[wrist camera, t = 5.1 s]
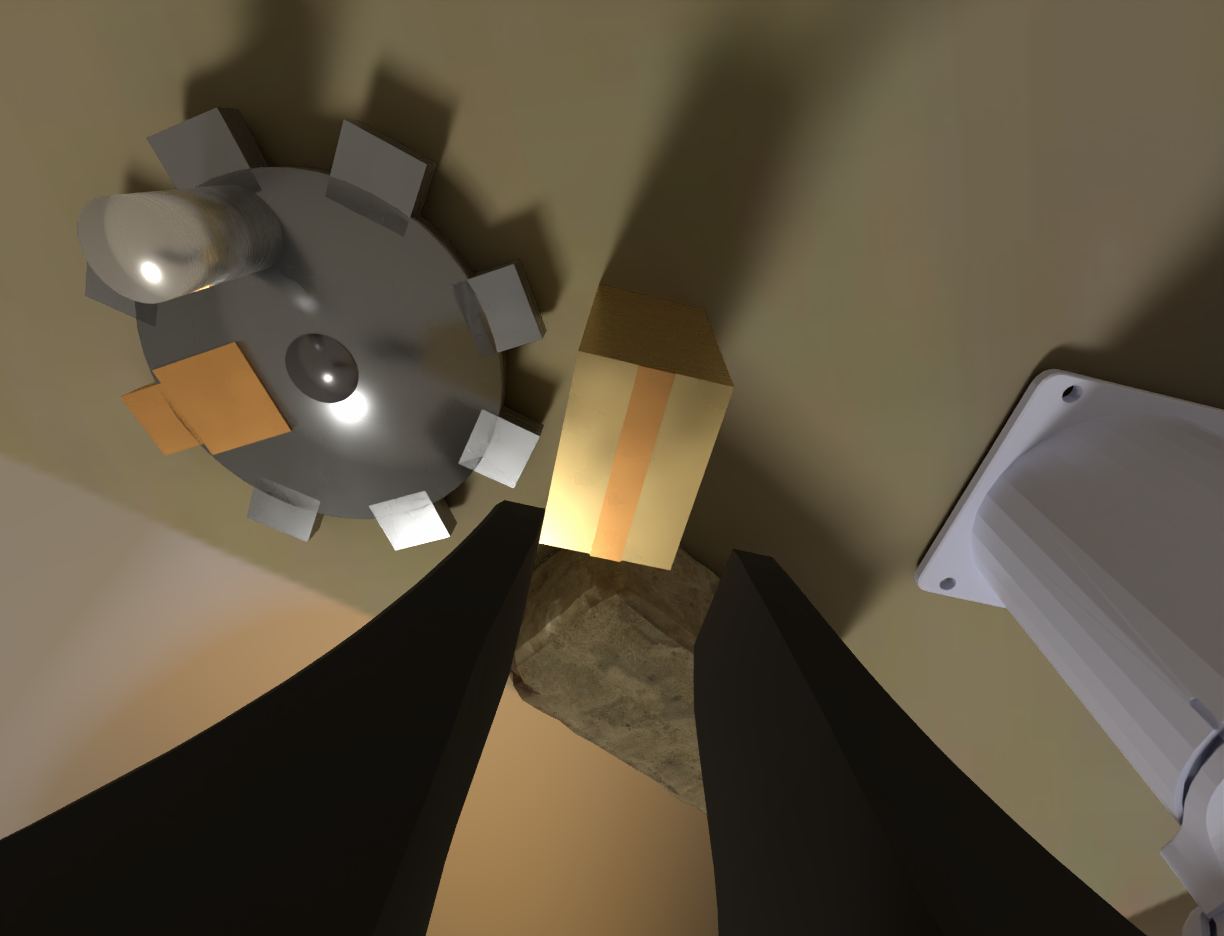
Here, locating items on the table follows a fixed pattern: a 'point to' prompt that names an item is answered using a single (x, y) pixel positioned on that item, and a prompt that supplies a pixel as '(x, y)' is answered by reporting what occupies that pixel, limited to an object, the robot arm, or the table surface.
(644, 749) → the stone block
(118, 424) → the table surface
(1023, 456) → the robot arm
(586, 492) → the tan rectangular block
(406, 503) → the sprocket
